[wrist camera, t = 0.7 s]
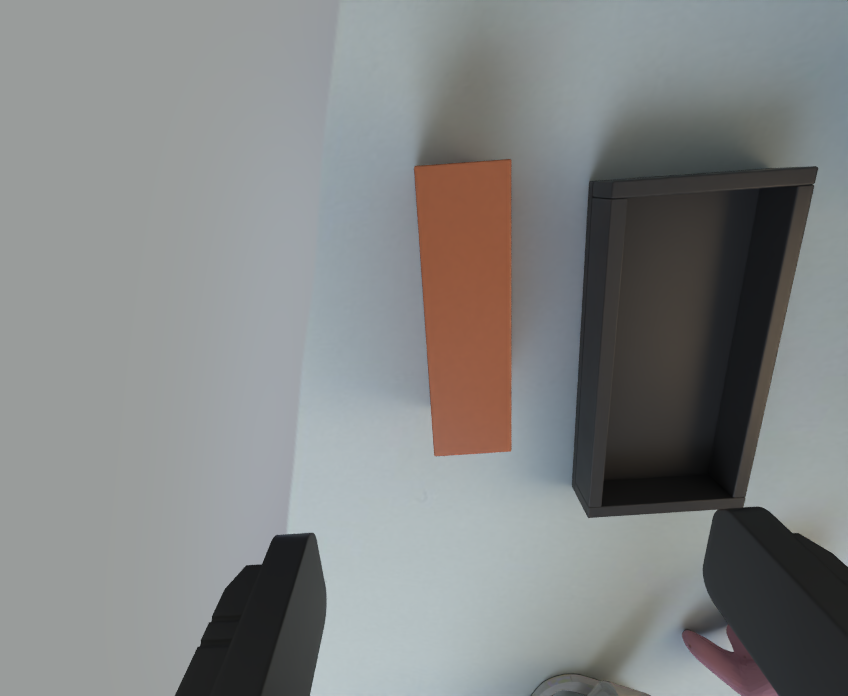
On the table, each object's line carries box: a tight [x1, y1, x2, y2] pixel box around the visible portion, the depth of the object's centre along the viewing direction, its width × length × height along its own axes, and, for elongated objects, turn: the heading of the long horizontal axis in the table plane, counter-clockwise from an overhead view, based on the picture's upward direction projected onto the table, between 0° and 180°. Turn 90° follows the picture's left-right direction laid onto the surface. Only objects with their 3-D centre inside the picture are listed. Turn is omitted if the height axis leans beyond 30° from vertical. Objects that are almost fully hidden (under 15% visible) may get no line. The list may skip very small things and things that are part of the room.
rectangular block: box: [414, 159, 511, 456], centre depth 23 cm, size 14×4×6 cm, turn 4°
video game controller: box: [682, 624, 779, 696], centre depth 32 cm, size 10×5×7 cm, turn 153°
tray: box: [572, 166, 818, 518], centre depth 26 cm, size 20×10×3 cm, turn 4°
